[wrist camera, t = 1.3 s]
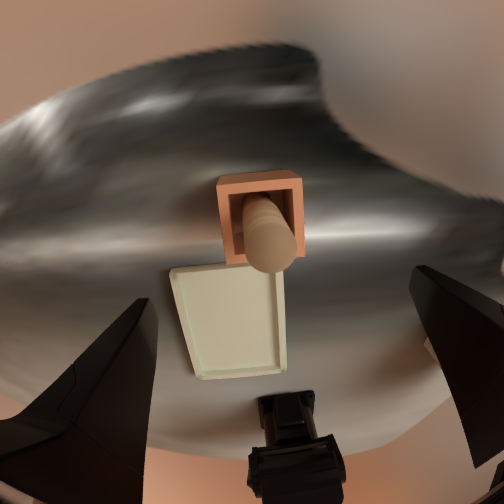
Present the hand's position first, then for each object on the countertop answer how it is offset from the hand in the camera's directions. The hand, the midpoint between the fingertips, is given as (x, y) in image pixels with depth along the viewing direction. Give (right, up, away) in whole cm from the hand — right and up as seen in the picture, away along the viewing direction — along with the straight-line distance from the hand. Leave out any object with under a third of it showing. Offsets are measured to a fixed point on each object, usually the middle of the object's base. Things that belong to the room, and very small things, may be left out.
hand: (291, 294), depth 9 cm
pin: (-1, +5, +12) cm, 13 cm away
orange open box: (-1, +5, +13) cm, 14 cm away
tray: (-3, -5, +17) cm, 18 cm away
